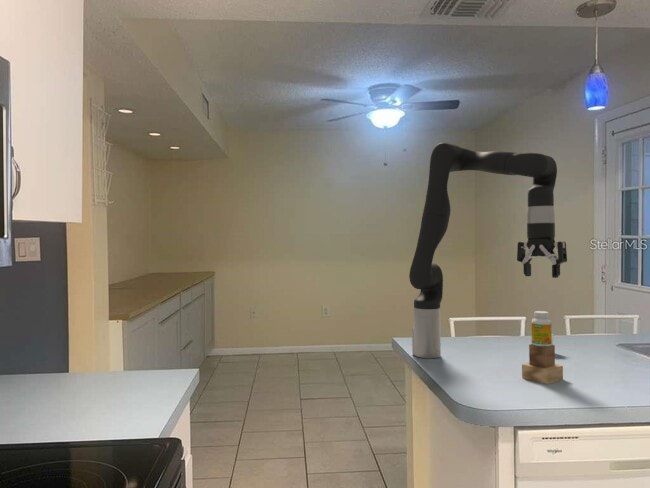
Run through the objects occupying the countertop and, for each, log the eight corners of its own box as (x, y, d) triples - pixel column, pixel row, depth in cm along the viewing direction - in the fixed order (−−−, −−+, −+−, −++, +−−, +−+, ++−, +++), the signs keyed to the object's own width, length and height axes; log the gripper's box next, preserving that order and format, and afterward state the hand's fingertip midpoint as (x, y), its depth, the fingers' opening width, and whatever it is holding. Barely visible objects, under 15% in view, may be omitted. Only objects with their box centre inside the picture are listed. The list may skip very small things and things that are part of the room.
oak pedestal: (522, 377, 140) (521, 364, 140) (537, 373, 144) (537, 360, 144) (547, 384, 133) (547, 370, 133) (562, 379, 138) (562, 365, 138)
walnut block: (529, 364, 140) (529, 344, 140) (538, 362, 142) (538, 342, 142) (545, 368, 135) (545, 347, 135) (554, 365, 138) (554, 345, 138)
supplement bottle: (531, 346, 137) (531, 312, 137) (531, 342, 142) (531, 310, 142) (552, 347, 135) (552, 313, 135) (551, 343, 140) (550, 311, 140)
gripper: (571, 221, 135) (572, 277, 135) (526, 223, 147) (526, 275, 147) (557, 220, 131) (557, 279, 131) (511, 222, 143) (512, 276, 143)
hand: (541, 276), depth 139 cm, fingers open, 8 cm apart
